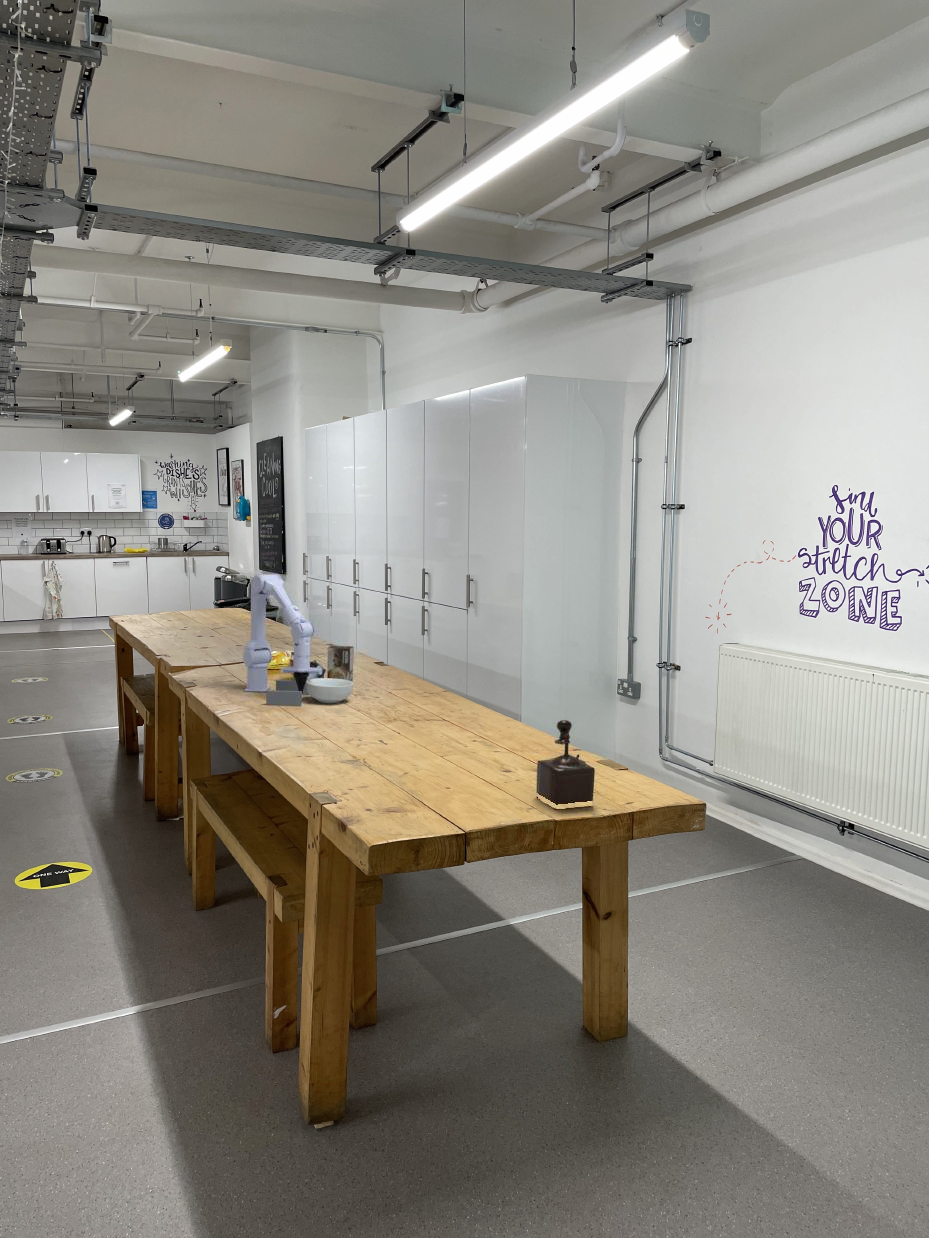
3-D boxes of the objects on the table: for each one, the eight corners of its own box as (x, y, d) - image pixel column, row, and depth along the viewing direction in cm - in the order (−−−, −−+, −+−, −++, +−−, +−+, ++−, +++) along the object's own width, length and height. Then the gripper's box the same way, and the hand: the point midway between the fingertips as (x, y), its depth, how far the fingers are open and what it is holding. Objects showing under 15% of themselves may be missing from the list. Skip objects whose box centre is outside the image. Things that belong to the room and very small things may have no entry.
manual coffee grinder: (596, 806, 208) (601, 732, 207) (555, 810, 204) (559, 734, 202) (563, 787, 223) (568, 717, 221) (524, 791, 218) (528, 719, 216)
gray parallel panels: (276, 693, 325) (276, 679, 325) (308, 694, 326) (309, 681, 326) (266, 705, 304) (266, 690, 304) (301, 706, 305) (301, 692, 304)
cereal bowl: (342, 707, 305) (343, 687, 305) (297, 703, 309) (298, 683, 309) (359, 699, 322) (360, 679, 321) (317, 695, 326) (317, 676, 325)
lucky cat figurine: (322, 685, 344) (306, 655, 340) (294, 695, 347) (278, 665, 342) (329, 668, 358) (314, 639, 353) (303, 678, 361) (288, 649, 356)
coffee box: (353, 687, 345) (354, 646, 343) (349, 690, 338) (350, 648, 337) (330, 685, 345) (331, 644, 344) (326, 688, 339) (327, 647, 337)
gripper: (279, 656, 309) (278, 694, 311) (321, 658, 310) (320, 696, 312) (282, 653, 316) (281, 691, 318) (323, 655, 317) (322, 692, 319)
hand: (300, 693), depth 315 cm, fingers closed
